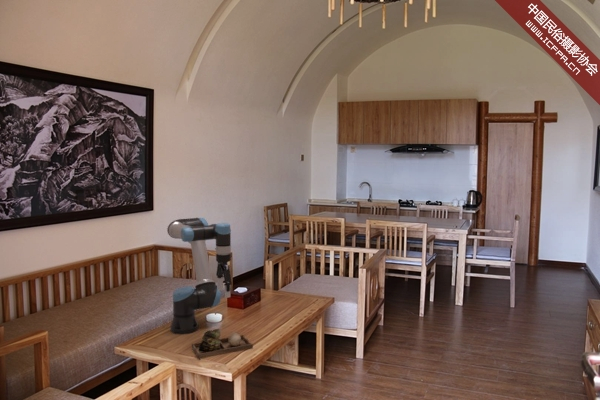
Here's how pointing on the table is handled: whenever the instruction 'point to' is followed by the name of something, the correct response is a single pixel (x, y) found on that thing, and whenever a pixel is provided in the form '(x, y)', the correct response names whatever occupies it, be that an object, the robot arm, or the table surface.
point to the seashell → (210, 341)
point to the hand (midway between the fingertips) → (223, 293)
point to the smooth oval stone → (234, 339)
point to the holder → (223, 348)
